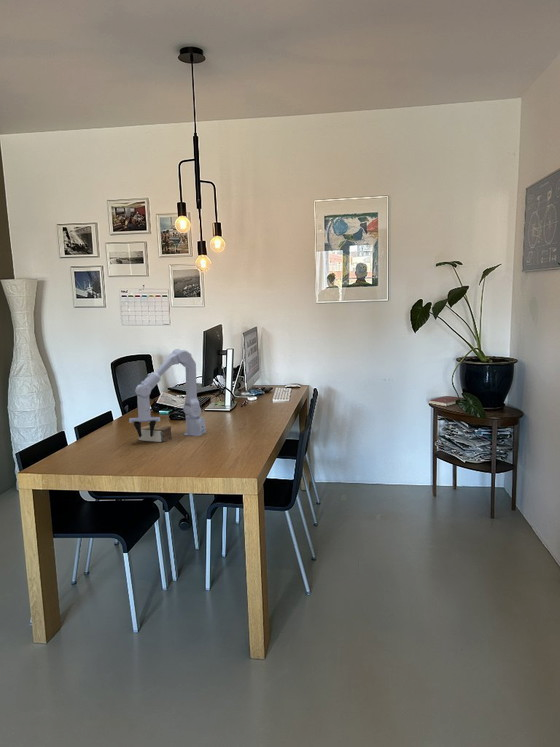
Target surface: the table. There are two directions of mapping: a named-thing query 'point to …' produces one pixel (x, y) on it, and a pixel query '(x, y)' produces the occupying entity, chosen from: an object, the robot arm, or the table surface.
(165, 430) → the cabinet
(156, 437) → the door
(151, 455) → the table surface
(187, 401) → the robot arm
